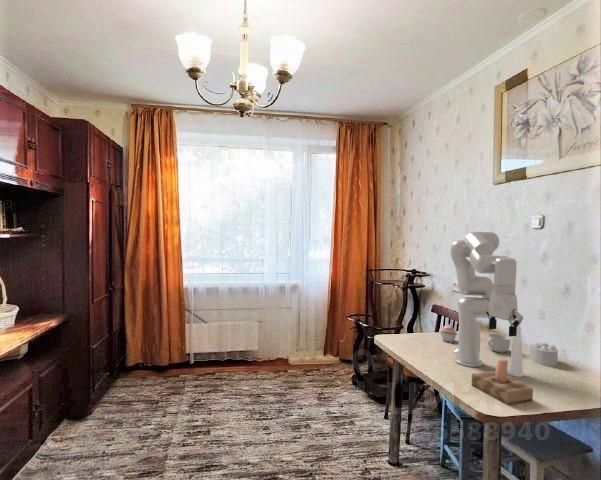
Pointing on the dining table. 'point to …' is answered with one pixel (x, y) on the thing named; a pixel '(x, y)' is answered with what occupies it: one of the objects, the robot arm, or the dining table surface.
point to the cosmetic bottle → (516, 355)
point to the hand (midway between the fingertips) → (502, 332)
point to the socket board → (502, 388)
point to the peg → (501, 371)
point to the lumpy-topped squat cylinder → (544, 354)
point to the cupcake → (448, 333)
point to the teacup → (498, 342)
